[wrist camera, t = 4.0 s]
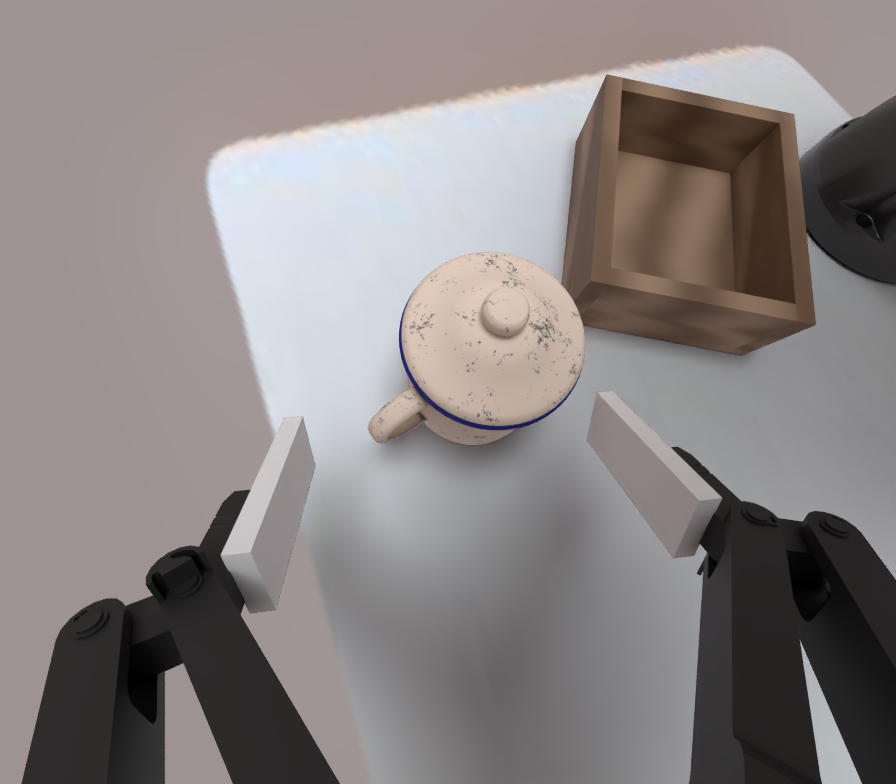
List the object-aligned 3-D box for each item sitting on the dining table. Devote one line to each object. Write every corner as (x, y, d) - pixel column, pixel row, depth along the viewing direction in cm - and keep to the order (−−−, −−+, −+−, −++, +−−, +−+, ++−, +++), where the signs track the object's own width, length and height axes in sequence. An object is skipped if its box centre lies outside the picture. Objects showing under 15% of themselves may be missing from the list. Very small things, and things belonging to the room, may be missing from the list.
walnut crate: (733, 174, 33) (794, 114, 28) (741, 355, 28) (815, 324, 23) (576, 142, 32) (606, 74, 27) (558, 320, 28) (590, 280, 23)
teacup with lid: (481, 303, 28) (522, 177, 17) (559, 399, 26) (662, 332, 15) (344, 393, 25) (283, 317, 14) (421, 504, 24) (424, 518, 13)
